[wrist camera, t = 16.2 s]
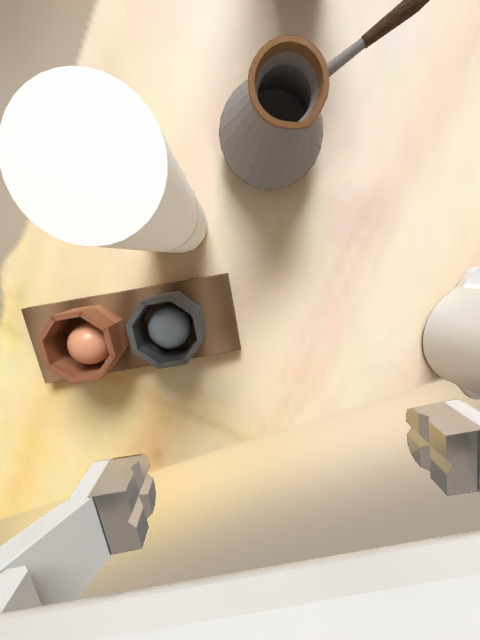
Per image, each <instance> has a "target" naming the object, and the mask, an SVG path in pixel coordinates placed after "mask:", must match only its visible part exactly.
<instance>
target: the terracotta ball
mask: <svg viewBox="0 0 480 640" xmlns="http://www.w3.org/2000/svg"><path fill="white" fill-rule="evenodd" d="M67 348H68V351H69V353H70V355H71V356H72V357H73V358H74V359H75V360H76V361H78V362H80V363H83V364H96V363H99V362H102V361H103V360H105V359H106V358H107V357H108V356H109V351H108V348H107V344H106V340H105V337H104V333H103V331H102V330H101V329H99V328H97V327H96V326H94V325H93V324H91V323H84V324H81V325H79V326H77V327H76V328H75V329H73V330H72V332H71V333H70V335H69V337H68V340H67Z"/></svg>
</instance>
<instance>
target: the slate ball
mask: <svg viewBox="0 0 480 640" xmlns="http://www.w3.org/2000/svg"><path fill="white" fill-rule="evenodd" d="M148 331H149V335H150V337H151V339H152V340H153V341H154V342H155V343H156V344H157V345H159V346H161V347H164V348H175V347H178V346H180V345H182V344H183V343H184V342H185V341H186V340H187V339H188V337H189V335H190V332H191V322H190V319H189V317H188V316H187V314H186V313H185V312H184V311H183V310H181V309H179V308H177V307H172V306H167V307H163V308H160V309H158V310H157V311H156V312H154V313H153V315H152V316H151V318H150V320H149V323H148Z"/></svg>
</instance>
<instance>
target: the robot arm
mask: <svg viewBox="0 0 480 640" xmlns="http://www.w3.org/2000/svg"><path fill="white" fill-rule="evenodd" d="M423 350H424V354H425V357H426V360H427V362H428V364H429V365H430V367H431V368H432V370H433V371H434V372H435V373H436V374H438V375H439V376H440V377H442V378H443V379H445V380H448V381H450V382H452V383H454V384H456V385H457V386H458V387H459V388H460V389H461V390H462V392H463V393H464V394H465V395H466V396H468V397H470V398H473V399H480V266H474V267H470V268H468V269H467V270H466V271H465V272H464V274H463V275H462V277H461V279H460V280H459V282H458V284H457V286H456V287H455V288H454V289H453V290H452V291H451V292H450V293H449V294H448V295H447V296H446V297H444V298H443V299H442V300H441V301H440V302H439V303H438V304H437V306H436V307H435V308H434V310H433V311H432V313H431V314H430V316H429V318H428V320H427V323H426V326H425V329H424V334H423ZM406 422H407V423H408V424H409V425H410V426H411V429H410V430H409V432H408V434H407V442H408V447H409V450H410V452H411V455H412V456H413V458H414V459H415V461H416V462H417V463H418V464H419V466H420V467H422V468H424V469H427V470H429V471H430V472H431V479H432V480H433V481H434V482H435V483H436V484H437V485H438V486H439V487H440V488H441V489H442V490H443V492H444V493H445V494H446V495H447V496H450V495H457V494H463V493H471V492H478V491H480V411H478V410H476V409H475V408H473V407H471V406H470V405H468V404H466V403H465V402H463V401H461V400H457V399H454V400H449V401H444V402H440V403H435V404H431V405H425V406H420V407H415V408H411V409H407V412H406ZM149 466H150V465H149V461H148V458H147V456H146V455H145V454H138V455H132V456H125V457H118V458H113V459H105V460H100V461H96V462H94V463H93V464H92V465H91V467H90V468H89V470H88V471H87V473H86V474H85V476H84V477H83V479H82V480H81V482H80V483H79V485H78V486H77V488H76V489H75V491H74V492H73V494H72V495H71V497H70V498H69V500H68V501H67V502H62V503H60V504H59V505H58V506H56V507H55V508H53V509H52V510H51V511H49V512H48V513H47V514H45V515H44V516H42V517H41V518H40V519H38V520H37V521H35V522H34V523H33V524H31V525H30V526H29V527H27V528H26V529H24V530H23V531H22V532H20V533H19V534H18V535H16V536H15V537H13V538H12V539H11V540H9V541H8V542H6V543H5V544H4V545H2V546H1V547H0V640H480V530H479V531H474V532H467V533H462V534H456V535H451V536H445V537H439V538H433V539H427V540H422V541H416V542H410V543H404V544H399V545H393V546H387V547H381V548H376V549H370V550H364V551H358V552H352V553H347V554H341V555H334V556H329V557H323V558H317V559H312V560H305V561H299V562H293V563H288V564H282V565H276V566H270V567H264V568H259V569H253V570H247V571H241V572H236V573H230V574H225V575H218V576H213V577H207V578H201V579H195V580H190V581H184V582H179V583H172V584H167V585H161V586H155V587H150V588H144V589H138V590H132V591H126V592H121V593H115V594H109V595H103V596H97V597H91V598H86V599H79V600H76V598H77V597H78V596H79V595H80V594H81V592H82V591H83V590H84V589H85V587H86V586H87V585H88V584H89V583H90V581H91V580H92V579H93V578H94V577H95V575H96V574H97V573H98V572H99V570H100V569H101V568H102V567H103V566H104V564H105V563H106V562H107V561H108V559H109V558H110V555H112V554H118V553H123V552H127V551H133V550H137V549H142V546H143V543H144V540H145V537H146V533H147V530H148V522H147V518H148V517H149V516H150V515H151V514H152V513H153V510H154V506H155V497H156V492H155V484H154V480H153V478H152V477H151V476H150V475H149V474H147V472H148V469H149Z"/></svg>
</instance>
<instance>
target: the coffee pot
mask: <svg viewBox="0 0 480 640" xmlns="http://www.w3.org/2000/svg"><path fill="white" fill-rule="evenodd" d="M428 1H430V0H403V1H402V2H401V3H400V4H398V5H397V6H396V7H395V8H394V9H393V10H392V11H390V12H389V13H388V14H387V15H386V16H385V17H383V18H382V19H381V20H380V21H379V22H378V23H377V24H375V25H374V26H373V27H372V28H371V29H370V30H369V31H367V32H366V33H365V34H364V35H363V36H362V37H361V39H359V40H358V41H357V42H355V43H354V44H353V45H351V46H350V47H349V48H347V49H346V50H345V51H343V52H342V53H341V54H339V55H338V56H337V57H335V58H334V59H333V60H331V61H330V62H329V63H327V64H326V62H325V59H324V58H323V56H322V54H321V52H320V51H319V50H318V49H317V48H316V47H315V46H314V45H313V44H312V43H311V42H310V41H308V40H306V39H304V38H302V37H299V36H293V35H286V36H279V37H277V38H275V39H273V40H270V41H269V42H268V43H267V44H265V45H264V46H263V47H262V48H261V49H260V50H259V52H258V53H257V54H256V56H255V57H254V59H253V61H252V64H251V67H250V69H249V75H248V80H246V81H245V82H244V83H243V84H241V85H240V86H239V87H238V88H237V89H236V90H235V91H234V92H233V94H232V95H231V96H230V98H229V99H228V101H227V102H226V105H225V107H224V110H223V113H222V115H221V119H220V128H219V137H220V145H221V149H222V152H223V155H224V157H225V160H226V162H227V163H228V165H229V166H230V168H231V169H232V170H233V172H234V173H235V174H236V175H237V176H238V177H240V178H241V179H242V180H243V181H244V182H246V183H248V184H250V185H252V186H255V187H257V188H263V189H269V190H270V189H278V188H284V187H286V186H288V185H291V184H293V183H295V182H297V181H298V180H299V179H300V178H302V177H303V176H304V175H306V173H307V172H308V171H309V169H310V168H311V167H312V166H313V164H314V163H315V161H316V158H317V156H318V154H319V151H320V149H321V143H322V137H323V125H322V117H321V113H320V111H321V110H322V108H323V106H324V103H325V101H326V99H327V95H328V89H329V76H331V75H332V74H333V73H334V72H336V71H337V70H338V69H339V68H341V67H342V66H343V65H344V64H346V63H347V62H348V61H349V60H351V59H352V58H353V57H354V56H355V55H357V54H358V53H359V52H360V51H362V50H363V49H364V48H367V47H368V46H370V45H371V44H373V43H374V42H376V41H377V40H378V39H380V38H381V37H383V36H384V35H386V34H387V33H388V32H390V31H391V30H393V29H394V28H396V27H397V26H398V25H400V24H401V23H403V22H404V21H406V20H407V19H408V18H410V17H411V16H413V15H414V14H415V13H417V12H418V11H419V10H420V9H421V8H422V7H423V6H424V5H425V4H426V3H427V2H428Z"/></svg>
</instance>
